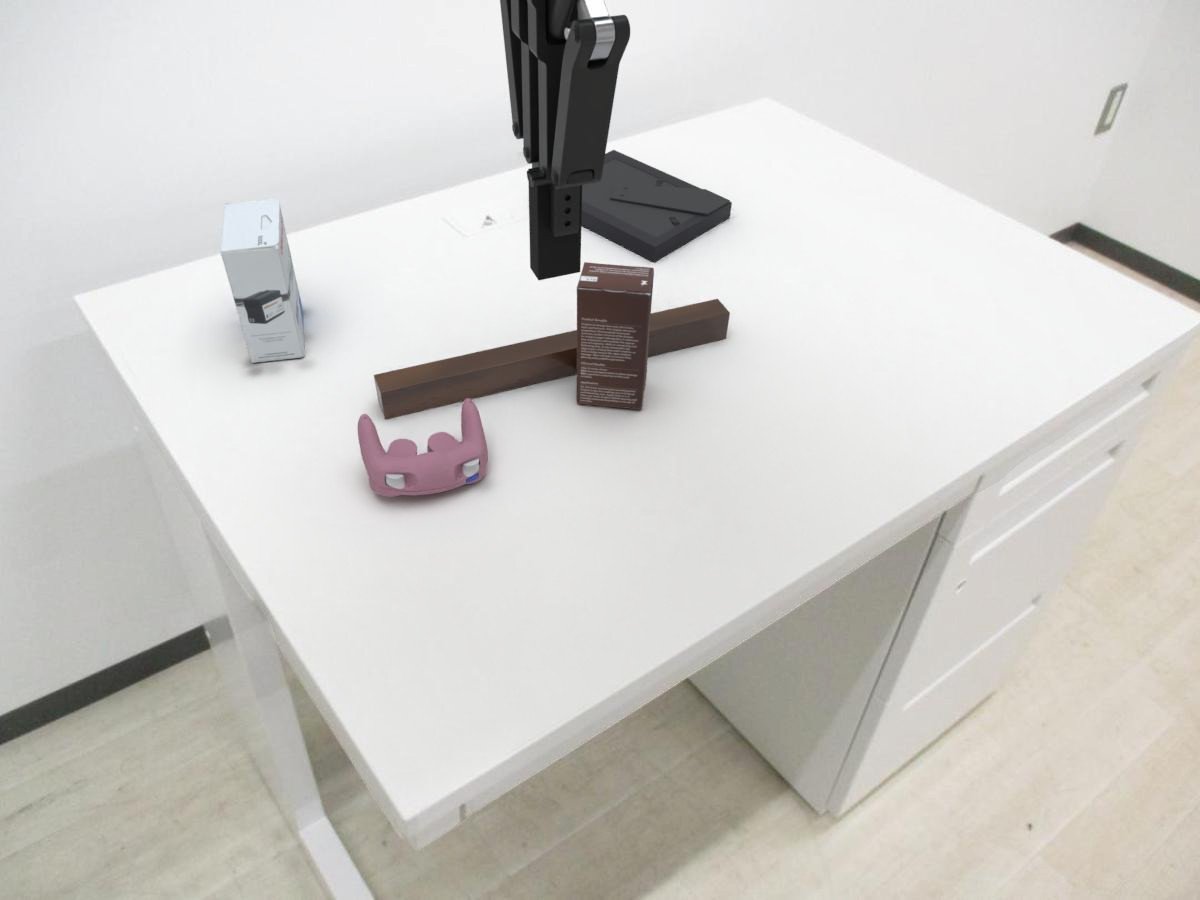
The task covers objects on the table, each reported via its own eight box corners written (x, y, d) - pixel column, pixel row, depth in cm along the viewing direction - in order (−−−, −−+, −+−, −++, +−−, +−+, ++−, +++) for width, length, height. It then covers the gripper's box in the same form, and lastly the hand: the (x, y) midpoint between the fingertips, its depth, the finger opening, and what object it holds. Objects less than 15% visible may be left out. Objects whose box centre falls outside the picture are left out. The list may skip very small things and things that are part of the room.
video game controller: (354, 449, 77) (372, 515, 73) (352, 409, 73) (371, 476, 69) (473, 430, 80) (497, 492, 76) (476, 391, 77) (501, 453, 73)
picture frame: (730, 217, 107) (613, 164, 116) (732, 199, 106) (613, 146, 114) (654, 262, 100) (535, 202, 108) (655, 244, 98) (534, 184, 107)
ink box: (251, 311, 91) (222, 200, 83) (304, 305, 92) (280, 195, 84) (249, 365, 85) (217, 251, 77) (305, 358, 86) (279, 246, 78)
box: (646, 379, 86) (656, 265, 77) (642, 412, 82) (651, 296, 74) (580, 373, 86) (583, 258, 78) (573, 405, 83) (575, 289, 75)
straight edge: (726, 338, 91) (730, 312, 89) (384, 419, 81) (380, 392, 79) (714, 324, 92) (717, 298, 90) (378, 401, 82) (373, 374, 80)
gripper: (699, -163, 38) (656, 316, 55) (579, -220, 47) (573, 208, 63) (524, -153, 36) (533, 343, 52) (432, -216, 45) (464, 228, 61)
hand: (555, 269), depth 58 cm, fingers closed
